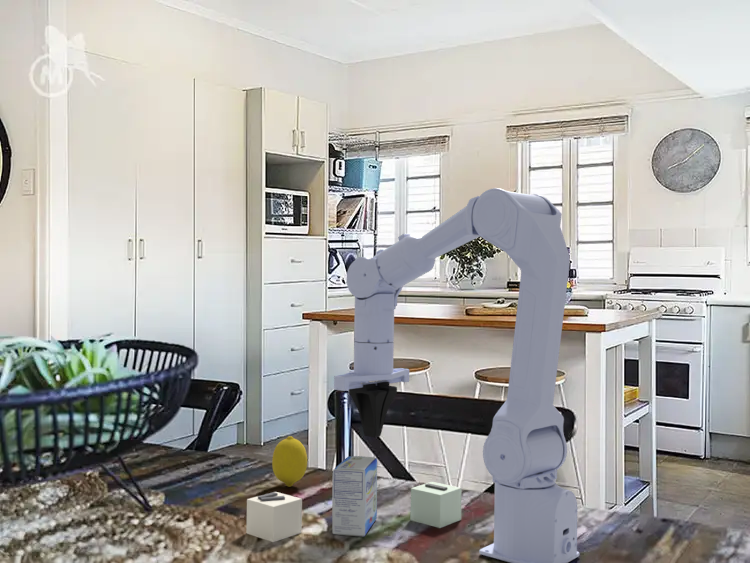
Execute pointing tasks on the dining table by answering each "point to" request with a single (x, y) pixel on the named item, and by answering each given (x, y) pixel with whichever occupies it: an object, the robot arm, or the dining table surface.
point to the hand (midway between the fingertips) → (372, 436)
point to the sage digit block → (435, 504)
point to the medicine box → (354, 496)
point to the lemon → (289, 461)
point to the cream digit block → (274, 516)
